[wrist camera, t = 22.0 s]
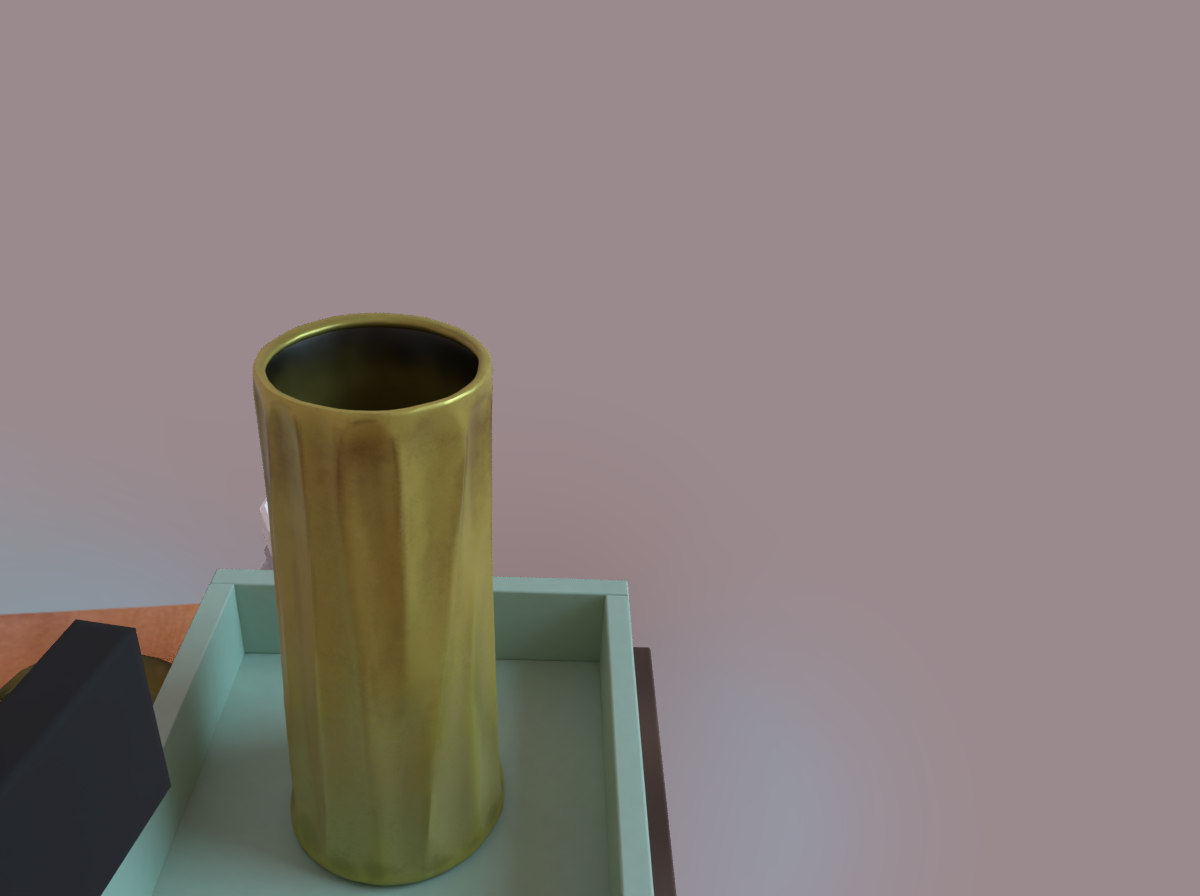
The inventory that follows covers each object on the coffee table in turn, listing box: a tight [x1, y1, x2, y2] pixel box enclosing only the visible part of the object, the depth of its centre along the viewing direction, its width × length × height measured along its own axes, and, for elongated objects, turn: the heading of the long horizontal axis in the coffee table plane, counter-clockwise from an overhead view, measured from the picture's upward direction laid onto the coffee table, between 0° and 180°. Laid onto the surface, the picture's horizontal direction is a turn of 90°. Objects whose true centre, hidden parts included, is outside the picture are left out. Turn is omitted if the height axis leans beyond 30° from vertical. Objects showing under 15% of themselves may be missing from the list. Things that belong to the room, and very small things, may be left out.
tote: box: [101, 569, 654, 896], centre depth 30 cm, size 14×14×4 cm
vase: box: [253, 313, 505, 886], centre depth 27 cm, size 6×6×14 cm
